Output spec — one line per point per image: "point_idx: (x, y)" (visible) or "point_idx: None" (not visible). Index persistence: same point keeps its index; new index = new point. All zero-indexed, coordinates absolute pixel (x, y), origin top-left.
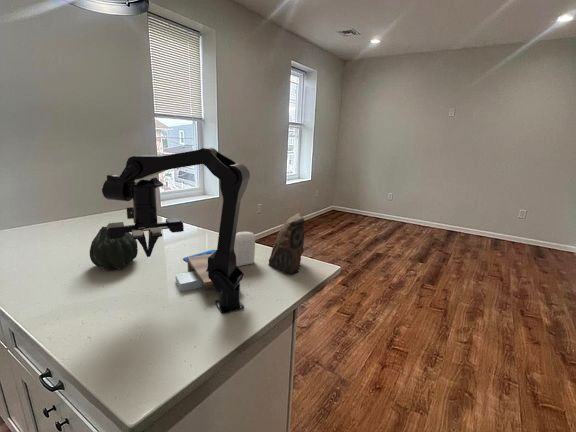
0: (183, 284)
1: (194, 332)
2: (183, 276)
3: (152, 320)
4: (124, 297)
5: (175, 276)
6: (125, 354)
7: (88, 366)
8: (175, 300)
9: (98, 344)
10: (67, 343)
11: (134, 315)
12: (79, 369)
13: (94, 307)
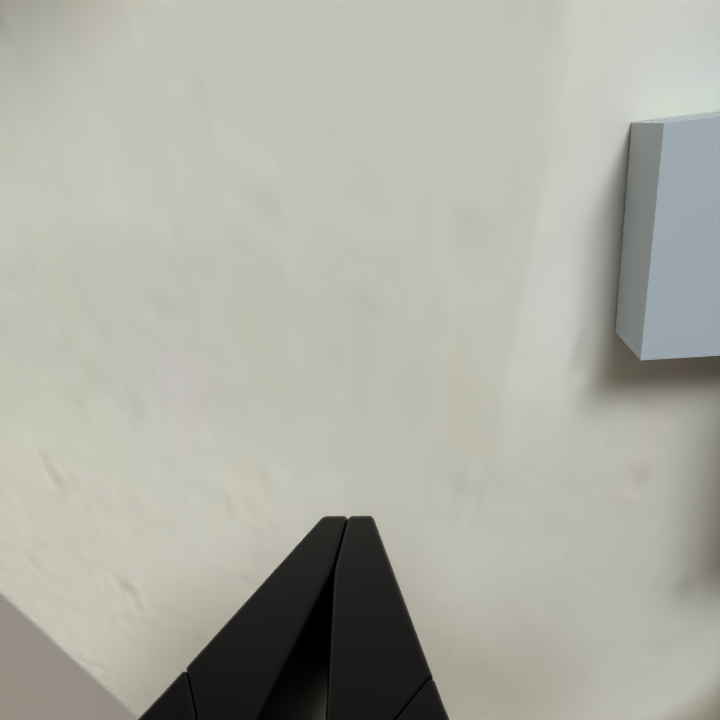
0: (666, 352)
1: (557, 711)
2: None
3: None
4: (207, 278)
5: (654, 124)
6: None
7: None
8: (543, 439)
9: (176, 637)
10: (56, 590)
11: (295, 505)
12: None
13: (54, 345)
